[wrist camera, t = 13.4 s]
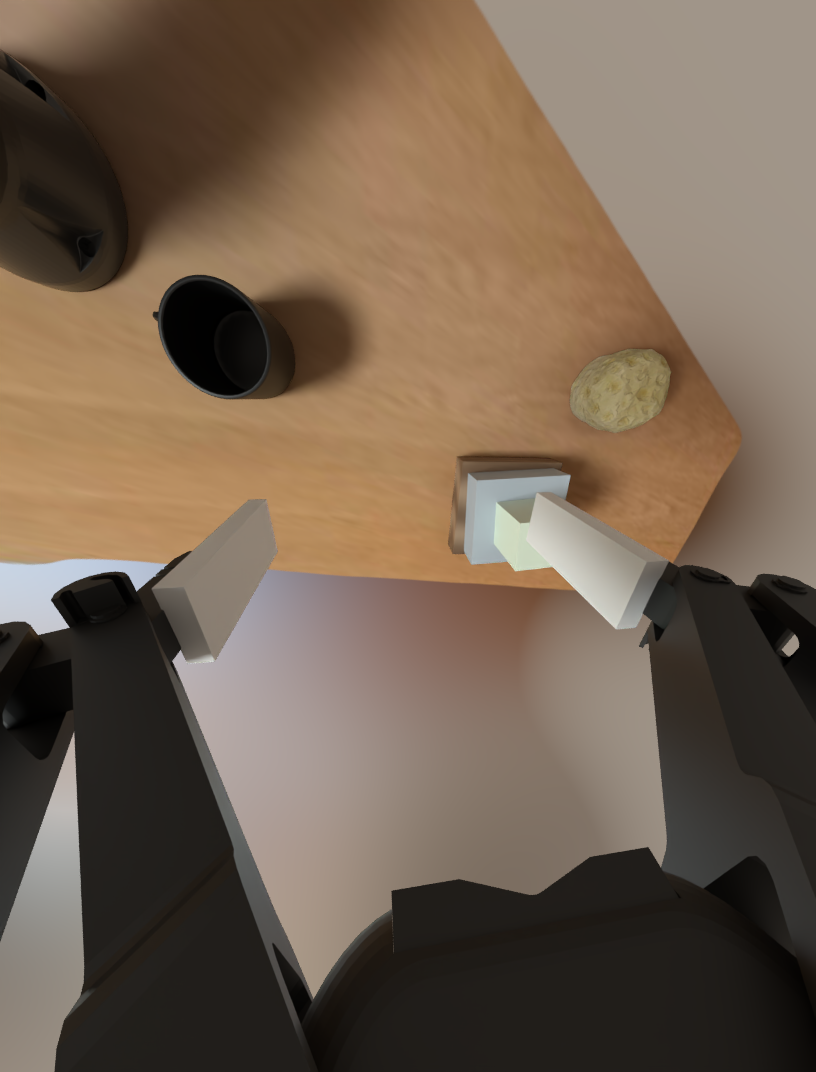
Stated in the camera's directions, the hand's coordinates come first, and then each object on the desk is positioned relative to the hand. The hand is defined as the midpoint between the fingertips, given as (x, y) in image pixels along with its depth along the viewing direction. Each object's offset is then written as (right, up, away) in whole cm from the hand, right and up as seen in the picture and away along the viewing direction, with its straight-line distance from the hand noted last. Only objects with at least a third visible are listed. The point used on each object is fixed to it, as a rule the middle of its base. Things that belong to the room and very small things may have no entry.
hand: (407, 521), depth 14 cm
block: (+14, +1, +24) cm, 28 cm away
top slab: (+14, +3, +28) cm, 31 cm away
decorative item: (+26, +19, +25) cm, 41 cm away
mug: (-19, +21, +20) cm, 35 cm away
